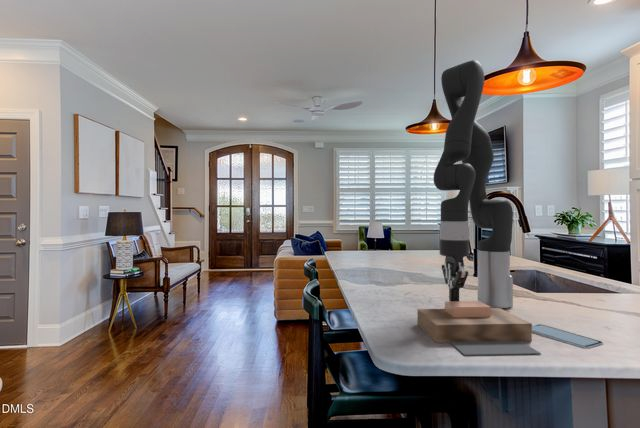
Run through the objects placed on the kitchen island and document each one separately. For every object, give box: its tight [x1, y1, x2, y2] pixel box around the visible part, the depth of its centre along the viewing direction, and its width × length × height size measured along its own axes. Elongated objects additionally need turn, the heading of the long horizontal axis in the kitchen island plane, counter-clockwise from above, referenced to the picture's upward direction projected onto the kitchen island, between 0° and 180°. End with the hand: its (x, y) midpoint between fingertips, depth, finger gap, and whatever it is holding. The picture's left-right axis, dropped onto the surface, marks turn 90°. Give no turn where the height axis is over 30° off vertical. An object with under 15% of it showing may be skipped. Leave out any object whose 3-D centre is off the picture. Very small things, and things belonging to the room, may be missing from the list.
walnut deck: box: [417, 308, 533, 344], centre depth 93 cm, size 22×14×4 cm, turn 93°
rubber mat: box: [449, 341, 542, 357], centre depth 82 cm, size 16×8×1 cm, turn 93°
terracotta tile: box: [444, 300, 491, 317], centre depth 95 cm, size 9×6×2 cm, turn 93°
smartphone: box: [532, 323, 604, 349], centre depth 90 cm, size 7×1×15 cm
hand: (454, 302), depth 103 cm, fingers closed
